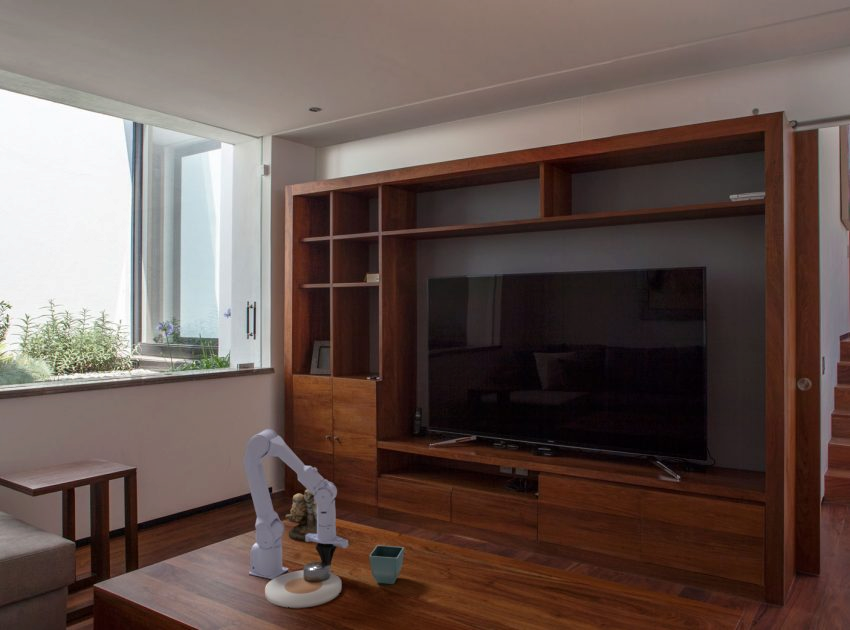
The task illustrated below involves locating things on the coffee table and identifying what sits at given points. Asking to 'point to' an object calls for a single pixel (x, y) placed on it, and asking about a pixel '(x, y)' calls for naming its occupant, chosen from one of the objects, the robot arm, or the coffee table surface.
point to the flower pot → (386, 563)
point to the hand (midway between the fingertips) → (326, 567)
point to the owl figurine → (303, 516)
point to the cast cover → (316, 572)
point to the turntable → (301, 590)
